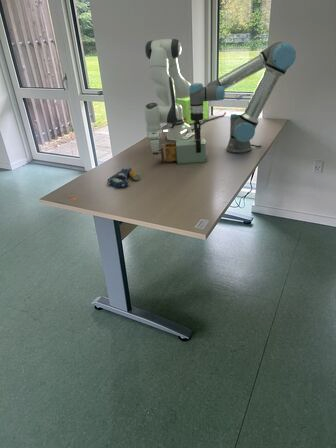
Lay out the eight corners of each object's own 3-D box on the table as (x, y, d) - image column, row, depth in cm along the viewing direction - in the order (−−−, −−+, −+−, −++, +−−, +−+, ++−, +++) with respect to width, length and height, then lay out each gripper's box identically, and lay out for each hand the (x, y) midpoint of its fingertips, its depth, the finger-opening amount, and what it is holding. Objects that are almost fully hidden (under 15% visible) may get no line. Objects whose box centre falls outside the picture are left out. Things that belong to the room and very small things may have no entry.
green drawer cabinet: (177, 163, 203) (176, 145, 198) (176, 157, 212) (175, 140, 207) (205, 161, 203) (205, 143, 197) (204, 155, 212) (203, 138, 206)
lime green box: (191, 115, 302) (190, 88, 290) (208, 118, 288) (208, 90, 276) (170, 121, 289) (168, 93, 277) (187, 125, 275) (185, 95, 263)
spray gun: (146, 174, 192) (124, 172, 198) (145, 167, 190) (123, 165, 196) (127, 190, 176) (104, 187, 183) (125, 183, 174) (102, 180, 181)
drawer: (153, 163, 204) (151, 148, 199) (154, 158, 212) (152, 143, 207) (188, 161, 203) (187, 146, 198) (187, 155, 211) (187, 141, 206)
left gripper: (149, 127, 208) (152, 149, 215) (148, 137, 190) (150, 160, 197) (159, 127, 207) (161, 148, 215) (159, 136, 190) (161, 160, 197)
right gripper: (189, 108, 203) (190, 143, 214) (191, 117, 183) (192, 156, 194) (201, 107, 202) (202, 143, 214) (205, 116, 183) (205, 155, 194)
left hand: (156, 154), depth 206 cm, fingers closed, pressing on drawer
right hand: (197, 149), depth 204 cm, fingers closed on green drawer cabinet, 10 cm apart
